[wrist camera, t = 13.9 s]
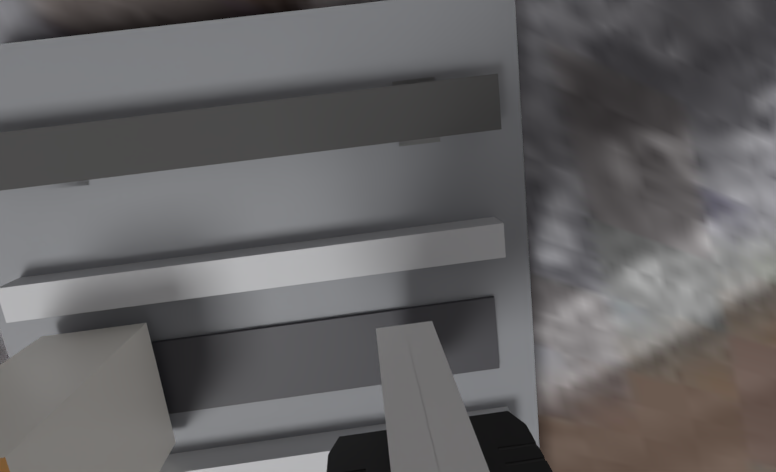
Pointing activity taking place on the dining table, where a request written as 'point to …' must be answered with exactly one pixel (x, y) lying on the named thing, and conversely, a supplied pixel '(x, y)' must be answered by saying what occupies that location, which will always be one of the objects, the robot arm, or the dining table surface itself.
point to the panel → (280, 227)
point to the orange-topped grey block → (84, 404)
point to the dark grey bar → (250, 131)
